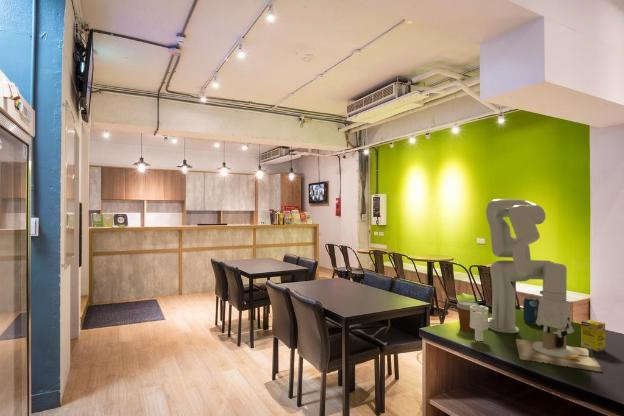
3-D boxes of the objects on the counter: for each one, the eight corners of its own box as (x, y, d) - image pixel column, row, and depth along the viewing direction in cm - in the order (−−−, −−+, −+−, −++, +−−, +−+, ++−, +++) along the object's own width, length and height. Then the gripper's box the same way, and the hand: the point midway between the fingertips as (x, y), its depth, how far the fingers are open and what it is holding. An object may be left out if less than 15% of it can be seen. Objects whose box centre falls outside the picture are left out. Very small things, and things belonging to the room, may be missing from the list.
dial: (556, 360, 132) (557, 341, 132) (524, 345, 147) (524, 328, 147) (590, 358, 134) (591, 339, 134) (555, 343, 149) (555, 327, 150)
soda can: (539, 325, 181) (539, 300, 181) (522, 322, 185) (523, 298, 185) (539, 322, 187) (540, 297, 187) (523, 319, 191) (524, 295, 191)
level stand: (520, 359, 137) (520, 346, 137) (516, 342, 155) (516, 331, 155) (601, 371, 127) (601, 358, 127) (586, 352, 145) (586, 340, 145)
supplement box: (597, 353, 145) (597, 324, 145) (580, 348, 150) (580, 320, 150) (605, 351, 147) (605, 323, 147) (588, 346, 153) (588, 319, 153)
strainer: (474, 343, 153) (474, 306, 153) (466, 337, 160) (467, 302, 160) (491, 343, 153) (491, 306, 154) (483, 338, 160) (483, 302, 161)
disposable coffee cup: (453, 326, 177) (453, 300, 178) (473, 326, 177) (474, 301, 177) (460, 332, 168) (461, 305, 168) (482, 332, 168) (482, 305, 168)
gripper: (527, 292, 147) (526, 340, 147) (572, 302, 133) (571, 354, 132) (538, 291, 151) (538, 337, 150) (584, 300, 136) (583, 351, 136)
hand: (554, 345), depth 141 cm, fingers closed on dial, 3 cm apart
